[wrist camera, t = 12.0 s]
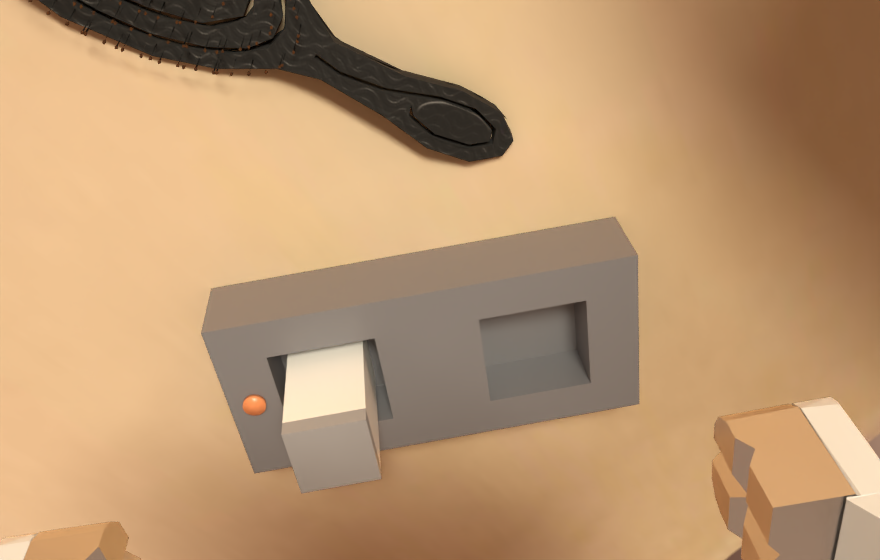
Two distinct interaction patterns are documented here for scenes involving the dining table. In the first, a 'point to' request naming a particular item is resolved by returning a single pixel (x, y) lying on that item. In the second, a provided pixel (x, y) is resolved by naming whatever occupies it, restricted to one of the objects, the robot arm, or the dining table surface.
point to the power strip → (443, 335)
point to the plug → (331, 417)
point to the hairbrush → (299, 62)
